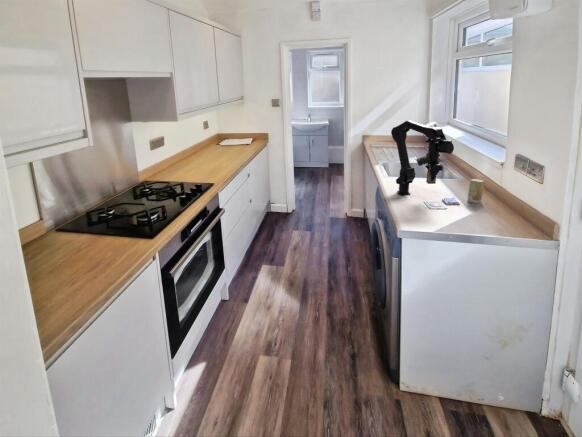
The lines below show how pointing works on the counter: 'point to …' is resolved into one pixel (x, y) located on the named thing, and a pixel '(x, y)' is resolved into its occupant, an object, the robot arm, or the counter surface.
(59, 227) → the counter surface
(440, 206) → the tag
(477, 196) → the skincare box
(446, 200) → the tray
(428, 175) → the stamp
